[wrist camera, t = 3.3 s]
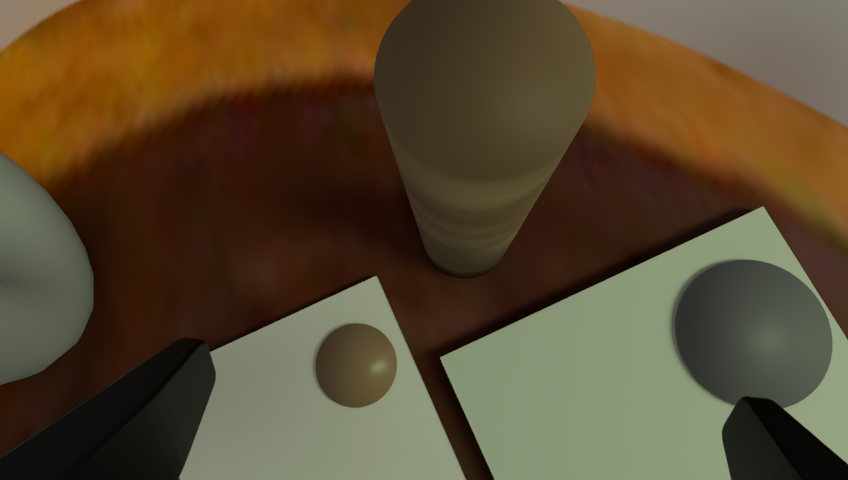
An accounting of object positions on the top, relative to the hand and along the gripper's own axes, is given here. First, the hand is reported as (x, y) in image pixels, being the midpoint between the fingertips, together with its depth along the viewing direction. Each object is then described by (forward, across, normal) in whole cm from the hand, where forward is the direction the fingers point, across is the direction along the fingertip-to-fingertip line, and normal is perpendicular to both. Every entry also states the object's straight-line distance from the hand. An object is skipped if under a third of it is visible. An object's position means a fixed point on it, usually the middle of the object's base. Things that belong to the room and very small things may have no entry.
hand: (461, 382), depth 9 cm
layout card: (+5, +5, +11) cm, 13 cm away
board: (+6, -9, +10) cm, 15 cm away
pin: (+12, 0, +5) cm, 13 cm away
